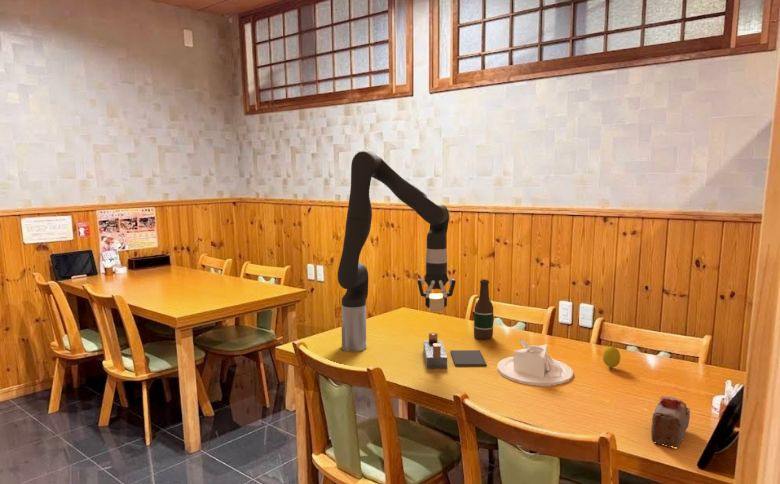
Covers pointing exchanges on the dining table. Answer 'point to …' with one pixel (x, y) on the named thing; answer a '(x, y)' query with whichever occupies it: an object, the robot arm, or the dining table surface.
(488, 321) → the beer bottle
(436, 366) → the hand plane
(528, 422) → the dining table surface
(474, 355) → the rubber mat
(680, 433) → the food item
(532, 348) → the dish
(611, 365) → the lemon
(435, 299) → the cream block
